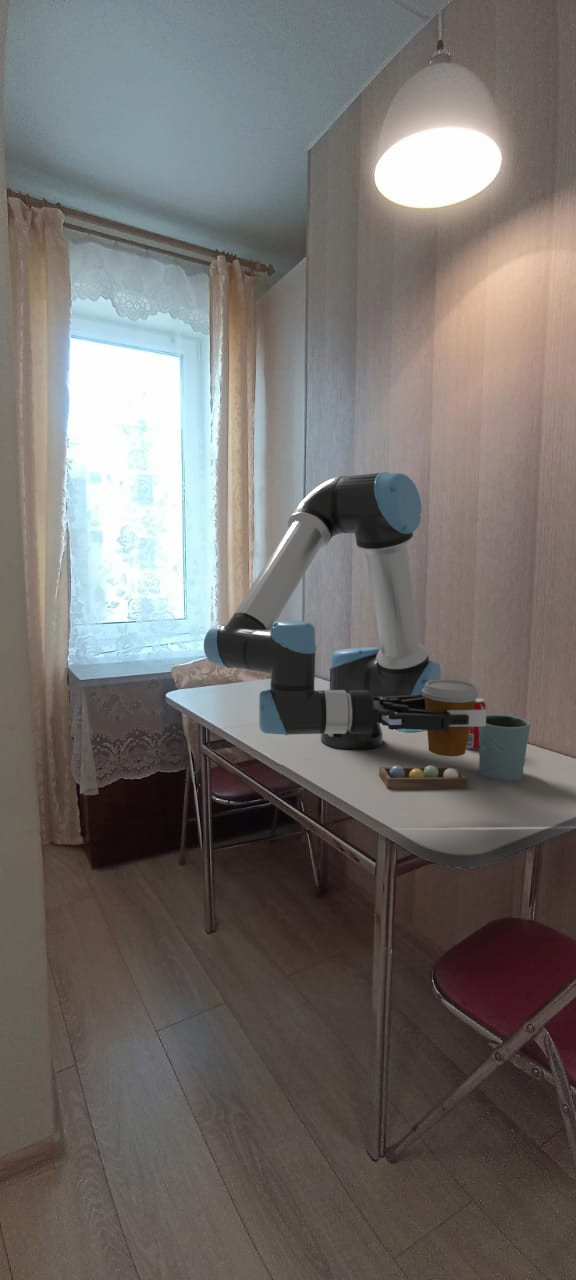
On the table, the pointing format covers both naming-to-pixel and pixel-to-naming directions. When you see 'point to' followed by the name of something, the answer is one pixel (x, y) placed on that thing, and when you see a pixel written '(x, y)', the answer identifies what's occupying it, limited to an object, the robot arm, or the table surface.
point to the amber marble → (416, 773)
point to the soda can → (474, 731)
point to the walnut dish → (422, 779)
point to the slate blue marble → (397, 772)
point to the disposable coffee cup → (442, 699)
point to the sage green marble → (431, 772)
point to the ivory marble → (450, 773)
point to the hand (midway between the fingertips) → (474, 711)
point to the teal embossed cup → (503, 747)
